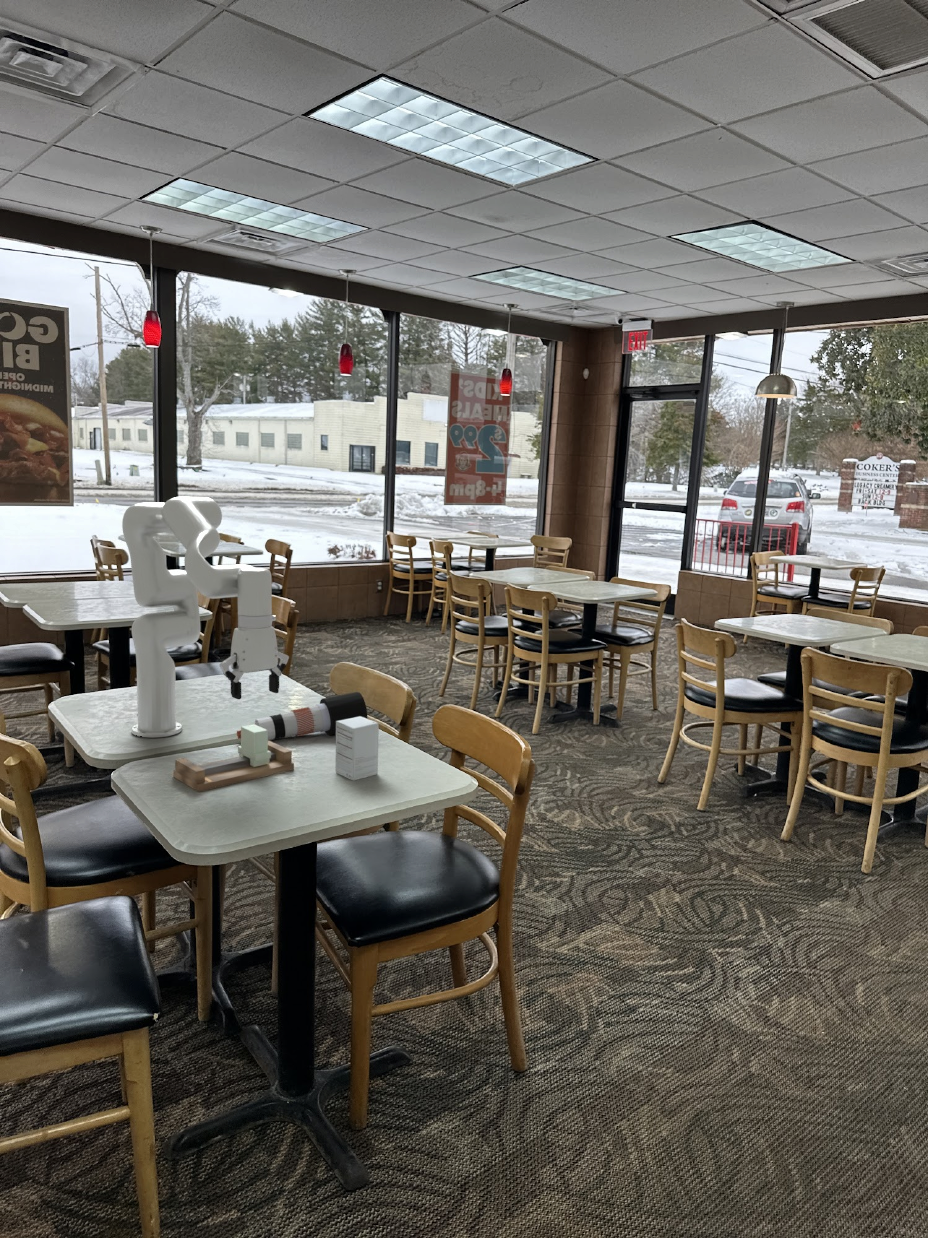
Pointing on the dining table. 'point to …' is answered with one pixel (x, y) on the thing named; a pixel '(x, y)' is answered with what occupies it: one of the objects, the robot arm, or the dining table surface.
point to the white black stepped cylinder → (314, 717)
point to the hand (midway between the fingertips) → (255, 695)
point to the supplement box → (357, 748)
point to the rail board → (231, 769)
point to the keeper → (254, 745)
